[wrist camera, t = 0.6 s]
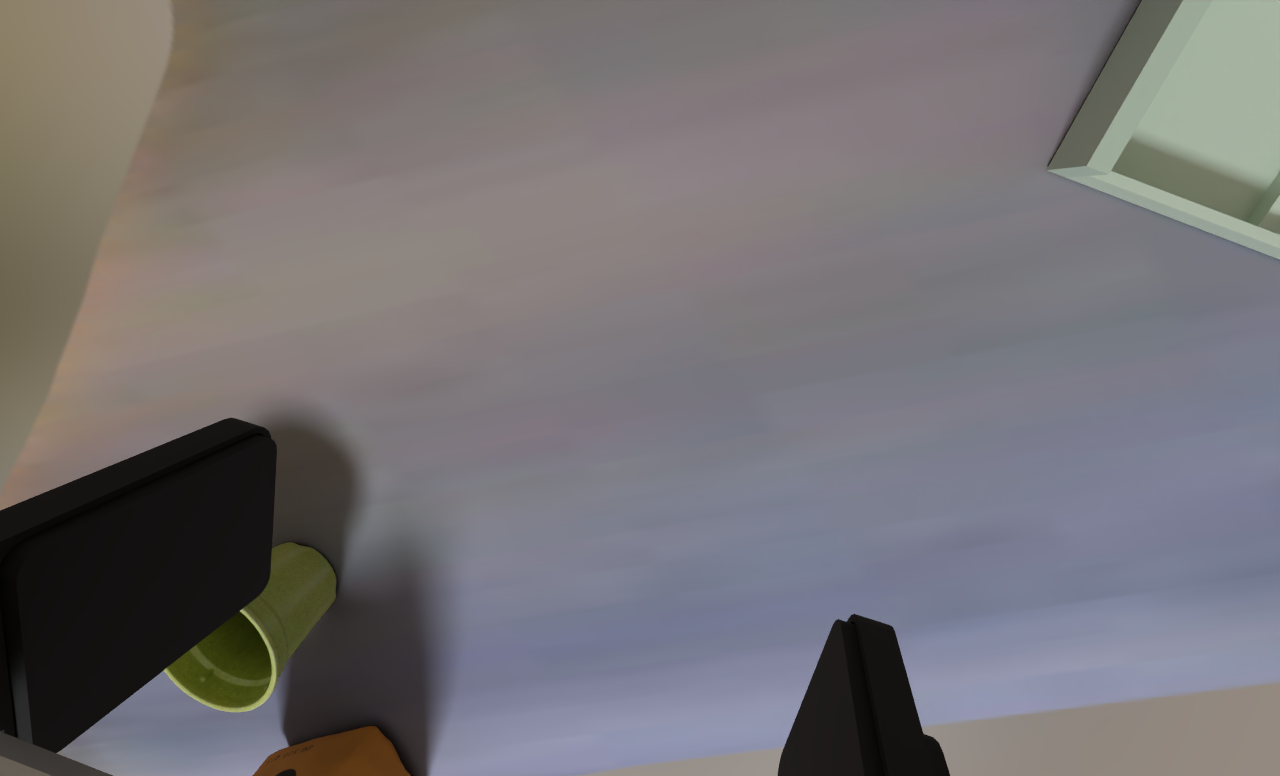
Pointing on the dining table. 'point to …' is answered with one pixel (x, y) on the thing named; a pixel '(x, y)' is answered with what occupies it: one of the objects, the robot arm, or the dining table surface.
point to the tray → (1189, 119)
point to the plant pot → (259, 634)
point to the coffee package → (337, 756)
